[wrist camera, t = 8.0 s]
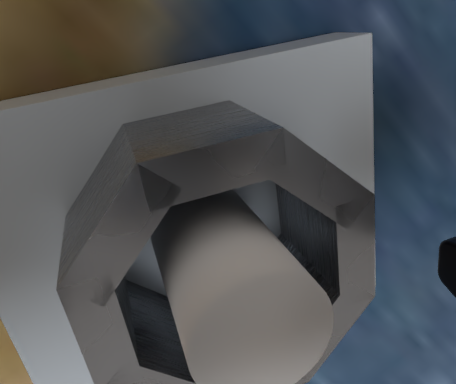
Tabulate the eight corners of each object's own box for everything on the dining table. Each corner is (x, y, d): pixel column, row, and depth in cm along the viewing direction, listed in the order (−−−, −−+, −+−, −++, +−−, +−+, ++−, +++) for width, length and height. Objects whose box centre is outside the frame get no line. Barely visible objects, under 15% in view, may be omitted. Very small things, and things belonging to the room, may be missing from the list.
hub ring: (297, 85, 12) (374, 105, 8) (313, 285, 14) (375, 355, 11) (39, 142, 10) (17, 192, 7) (115, 352, 13) (122, 455, 10)
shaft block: (334, 32, 13) (544, 34, 7) (346, 259, 17) (491, 389, 11) (-64, 113, 11) (-268, 226, 5) (50, 360, 15) (21, 605, 8)
